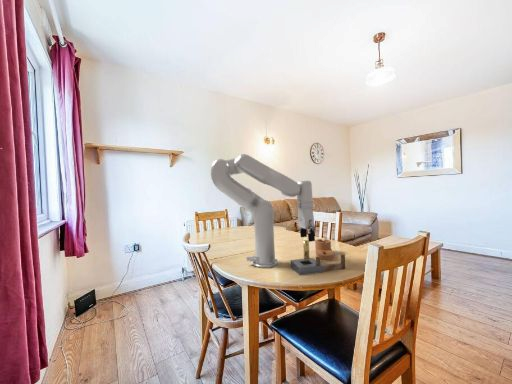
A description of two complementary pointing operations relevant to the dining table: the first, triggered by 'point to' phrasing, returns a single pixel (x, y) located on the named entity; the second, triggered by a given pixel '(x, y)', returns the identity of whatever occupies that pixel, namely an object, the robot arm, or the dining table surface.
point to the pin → (306, 249)
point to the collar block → (306, 266)
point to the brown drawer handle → (332, 266)
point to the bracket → (324, 249)
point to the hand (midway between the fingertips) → (307, 239)
